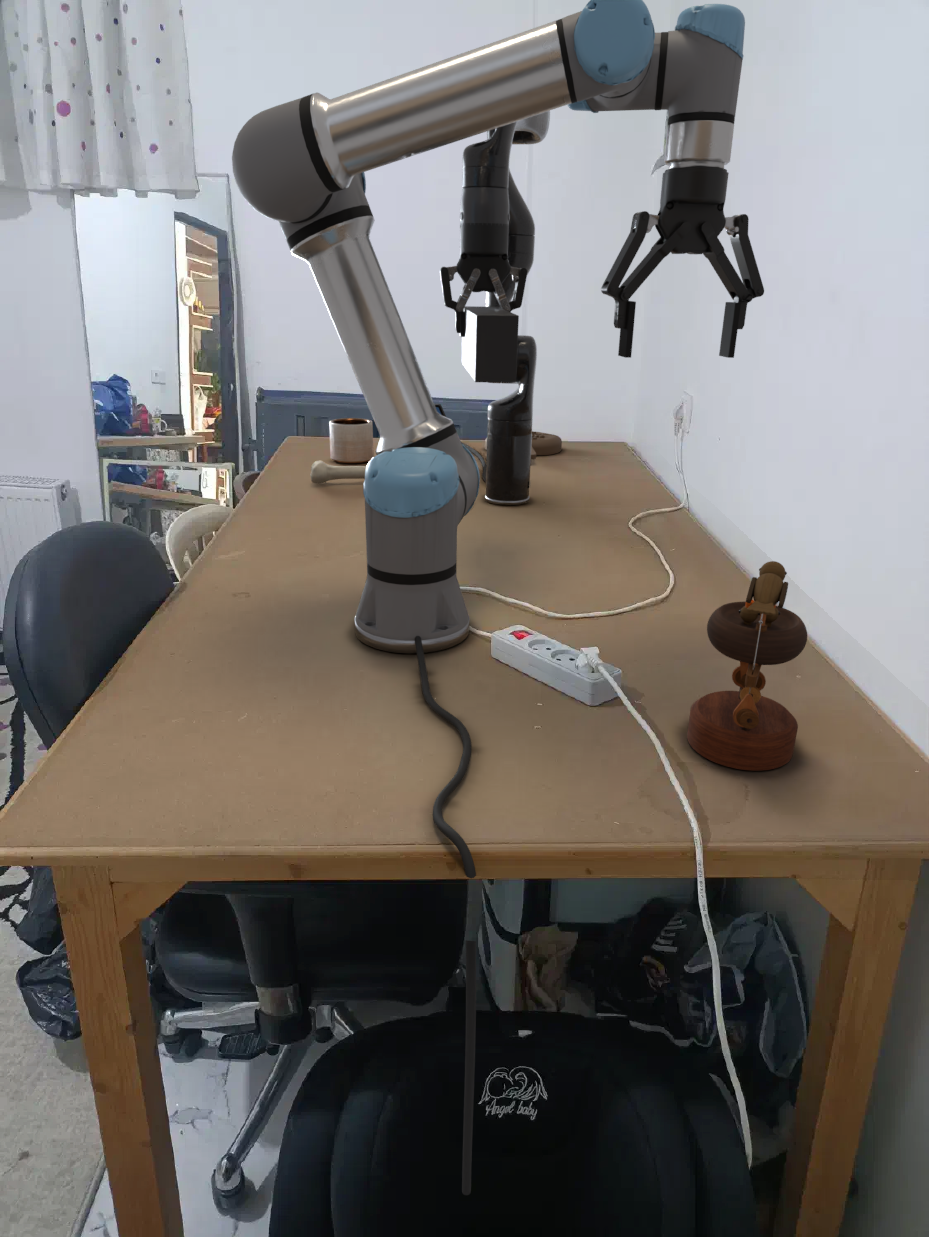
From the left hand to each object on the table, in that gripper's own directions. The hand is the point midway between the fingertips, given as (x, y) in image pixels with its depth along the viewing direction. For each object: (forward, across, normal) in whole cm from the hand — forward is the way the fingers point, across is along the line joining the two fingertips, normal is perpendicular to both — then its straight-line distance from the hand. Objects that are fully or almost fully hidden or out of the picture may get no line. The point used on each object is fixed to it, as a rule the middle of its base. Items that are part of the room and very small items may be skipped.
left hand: (675, 357), depth 107 cm
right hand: (0, +19, -35) cm, 40 cm away
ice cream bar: (+35, -8, -113) cm, 118 cm away
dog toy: (+35, +38, -84) cm, 98 cm away
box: (+5, +19, -28) cm, 34 cm away
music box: (+35, +4, +35) cm, 50 cm away
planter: (+35, +38, -109) cm, 121 cm away
